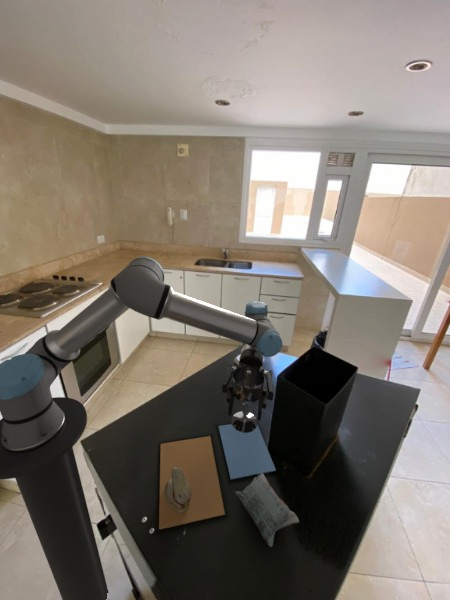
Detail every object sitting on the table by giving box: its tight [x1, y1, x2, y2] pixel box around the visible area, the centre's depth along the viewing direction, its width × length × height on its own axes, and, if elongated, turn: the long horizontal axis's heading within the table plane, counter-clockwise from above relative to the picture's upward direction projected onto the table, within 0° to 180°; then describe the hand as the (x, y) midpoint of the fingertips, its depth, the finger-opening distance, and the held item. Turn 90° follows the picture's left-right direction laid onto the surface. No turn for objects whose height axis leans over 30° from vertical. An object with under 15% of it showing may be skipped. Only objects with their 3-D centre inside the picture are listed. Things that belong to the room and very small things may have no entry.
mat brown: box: [158, 435, 226, 530], centre depth 63 cm, size 20×14×1 cm
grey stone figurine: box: [165, 467, 191, 513], centre depth 56 cm, size 6×8×10 cm
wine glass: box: [230, 367, 265, 433], centre depth 66 cm, size 8×8×15 cm
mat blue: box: [217, 423, 277, 480], centre depth 71 cm, size 16×12×1 cm
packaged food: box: [234, 471, 300, 548], centre depth 55 cm, size 9×12×5 cm
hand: (244, 413), depth 61 cm, fingers closed on wine glass, 6 cm apart
